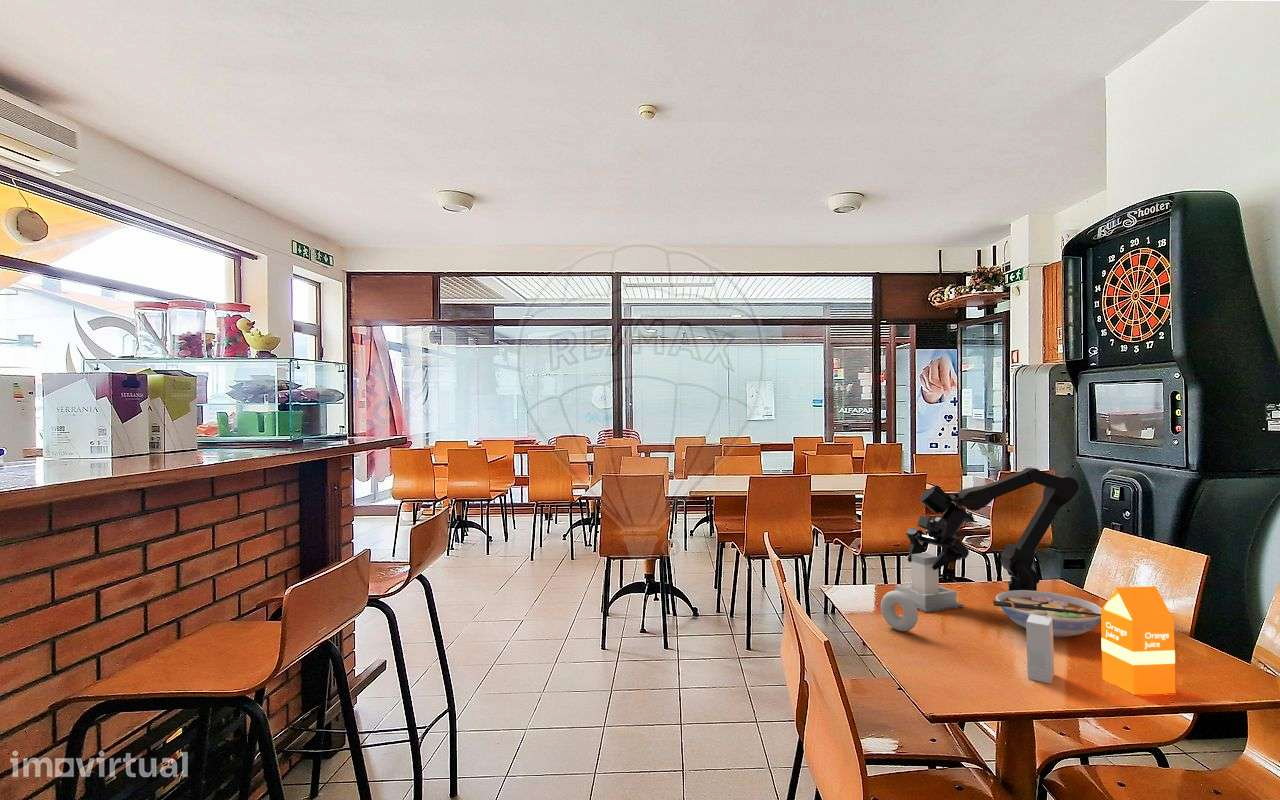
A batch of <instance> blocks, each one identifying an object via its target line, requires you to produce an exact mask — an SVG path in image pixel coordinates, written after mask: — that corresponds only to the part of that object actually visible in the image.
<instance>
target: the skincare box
mask: <svg viewBox="0 0 1280 800" xmlns="http://www.w3.org/2000/svg"><path fill="white" fill-rule="evenodd" d="M1025 629H1026V632H1025V633H1026V662H1027V663H1026V664H1027V665H1026V666H1027V667H1026V669H1027V679H1028V680H1033V681H1035V682H1036V681H1037V682H1041V683H1046V684H1049V685H1051V684H1052V681H1053V678H1054V675H1055V659H1054V657H1055V656H1054V655H1055V654H1054V638H1053V619H1052V618H1050V617H1045V616H1039V615H1033V614H1030V615H1029V617H1028V619H1027V621H1026V628H1025Z"/></svg>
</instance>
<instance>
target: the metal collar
mask: <svg viewBox="0 0 1280 800" xmlns="http://www.w3.org/2000/svg"><path fill="white" fill-rule="evenodd" d="M894 591H901V592H903V593H905V594H907V595H908V596H909V597H910V598H911V599H912V600H913V602H914V603H915V605H917V606H920V607H922V608H925V609H927V608H933V607H940V606H946V605H952V604H957V603H956V602H957V591H955V590H953V589H949V588H948V587H947V588H946V587H944V586H941V585H939V592H938V593H931V594H923V593H920V592H917V591H914V590H912V582H908V583H902V584H895V585H894Z"/></svg>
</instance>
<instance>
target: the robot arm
mask: <svg viewBox="0 0 1280 800" xmlns="http://www.w3.org/2000/svg"><path fill="white" fill-rule="evenodd" d="M1033 483H1035V484H1038V485H1041V486H1042V487H1043V486H1044V488H1043V491H1042V493H1043V495H1042V500H1041V503H1040V504H1039V506H1038V507H1037V508H1036V511H1035V513H1033V516H1032V518H1031V519H1030V521H1029V523H1028V524H1027V526H1026V527H1025V529H1024V530H1023V533H1022V534H1021V536H1020V537H1019V539H1018V541H1017V542H1015V543H1014V544H1013V545H1012V544H1010V543H1006V545H1005V547H1004V550H1003V551H1002V552H1001V553H1000V564H1001V566H1002V567H1003V569H1005V570H1006V571H1007V574H1008V576H1010V577H1009V578H1010V579H1009V581H1008V582H1007V587H1008V588H1007V591H1015V590H1030V591H1038V589H1037V588H1038V587H1037V586H1038V585H1037V584H1039V582H1040V581H1041V576H1040V575H1039V574H1038V572H1036V570H1035V569H1033V565H1034V562H1035V554H1036V549H1037V547H1038V546H1039V545H1040V542H1042V539H1044V536H1045V535H1046V533H1047V531H1048V529H1049V528H1050V526H1051V525H1052V523H1053V521H1054V520H1055V518H1056V516H1057V514H1058V513H1059V511H1060V510H1061V508H1063V507H1064V506H1066V505H1068V503H1070V502H1071V501H1072V500H1073V499H1074V498H1075V496H1077V494H1078V492H1079V491H1080V485H1079V482H1078V481H1077V480H1076V479H1075V478H1074V477H1070V476H1066V475H1063V474H1051V473H1047V472H1045V471H1043V470H1040V469H1038V468H1035V467H1026V468H1024V469H1022V470H1021V471H1020V470H1019V471H1017V472H1015V473H1013V474H1010V475H1008V476H1005V477H1003V478H1000V479H998V480H996V481H992V482H991V483H988V484H984V485H978V486H971V487H968V488H963V489H961V490H960V491H958V493H952V494H948V493H946V492H945V491H944V490H943V489H942V488H941V487H940V486H939V485H937V484H934V485H933V486H932V487H930V488H928V489H927V490H925V491H924V492H923V493H922V495H921V496H920V498H919V501H920V502H921V503H922V504H923V505H924V506H925V507H927V508H928V509H929V510H931V511H932V512H933V513H934V514H939V513H940V514H942V515H940V517H939V516H937V517H935V518H933V517H929V516H925V515H919V517H918V521H917V524H916V526H917V527H920V528H922V529H924V532H925V533H926V534H927V535H926V534H925V533H924V532H923V531H922V529H917V528H913V527H912V528H911V527H909V528H908V529H907V531H906V532H905V535H906V536H907V538H908V539H909V541H910V542H909V543H910V546H909V552H908V555H907V561H908V563H912V558H911V554H919V553H924V552H925V550H926V547H928V546H929V544H930V545H933V546H936V547H941V548H940V549H941V550H940V552H939V554H938V557H937V559H936V560H935V562H934V564H933V566H932V568H933V570H936V569H938V570H939V569H940V568H942V567H944V566H946V565H948V564H950V563H953V562H955V561H960V560H962V559H964V560H966V559H967V557H968V556H969V554H970V551H969V550H970V549H969V548H968V547H967V546H966V545H965V543H964V542H963V541H962V540H961V539H959V538H958V537H959V536H960V533H959V530H960V529H961V527H962V525H963V524H964V523H967V524H968V523H974V522H975V518H974V515H973V513H972V512H976V511H980V510H981V509H983V508H985V507H986V506H988V505H989V504H990V503H991V502H993V501H994V500H995V499H997V498H999V497H1001V496H1004V495H1006V494H1009V493H1011V492H1014V491H1017V490H1019V489H1022V488H1024V487H1026V486H1030V485H1031V484H1033ZM965 509H967V510H969V511H972V512H967V510H965ZM955 537H956V538H955Z"/></svg>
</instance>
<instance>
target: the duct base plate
mask: <svg viewBox="0 0 1280 800" xmlns="http://www.w3.org/2000/svg"><path fill="white" fill-rule="evenodd" d="M956 603H957V604H952V605H946V606H940V607H933V608H927V609H925V608H922V607H920V606H917V605H916V608H917V609H919V610H921V611H920V612H922V611H924V612H928V613H932V612H931V611H934V612H938V611H937V610H940V611H944V610H943V609H947V610H950V609H949V608H953V609H957V608H956V607H959V608H963V607H962V606H964V607H965V605H964V604H963V603H960V602H957V601H956ZM919 610H918V611H919ZM924 612H923V613H924Z"/></svg>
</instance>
